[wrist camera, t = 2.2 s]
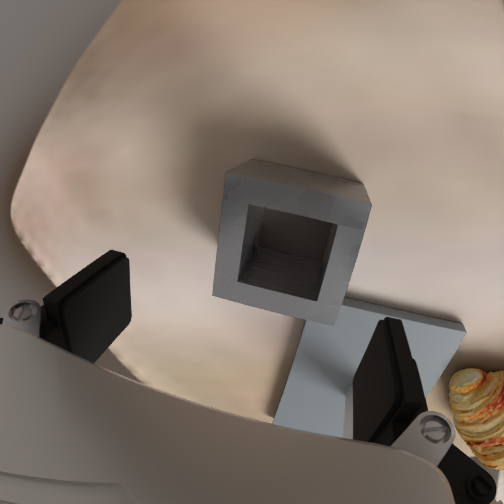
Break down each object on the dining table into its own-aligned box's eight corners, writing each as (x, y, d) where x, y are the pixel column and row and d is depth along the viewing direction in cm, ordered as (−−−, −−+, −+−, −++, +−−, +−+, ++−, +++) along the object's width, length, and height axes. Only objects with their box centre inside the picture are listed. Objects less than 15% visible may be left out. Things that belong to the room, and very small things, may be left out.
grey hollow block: (251, 159, 18) (226, 172, 14) (363, 183, 17) (371, 204, 13) (236, 259, 21) (212, 295, 17) (336, 283, 20) (333, 326, 16)
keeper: (314, 290, 20) (299, 373, 14) (462, 323, 19) (494, 403, 12) (273, 418, 26) (253, 488, 20) (386, 439, 25) (386, 507, 18)
